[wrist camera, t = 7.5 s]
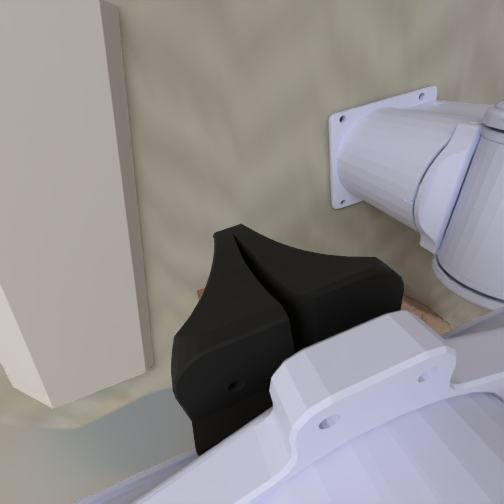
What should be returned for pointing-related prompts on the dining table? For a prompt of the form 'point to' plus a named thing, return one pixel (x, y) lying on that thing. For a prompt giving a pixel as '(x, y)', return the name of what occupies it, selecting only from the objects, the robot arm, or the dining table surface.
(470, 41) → the dining table surface
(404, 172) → the robot arm
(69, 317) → the crown molding
